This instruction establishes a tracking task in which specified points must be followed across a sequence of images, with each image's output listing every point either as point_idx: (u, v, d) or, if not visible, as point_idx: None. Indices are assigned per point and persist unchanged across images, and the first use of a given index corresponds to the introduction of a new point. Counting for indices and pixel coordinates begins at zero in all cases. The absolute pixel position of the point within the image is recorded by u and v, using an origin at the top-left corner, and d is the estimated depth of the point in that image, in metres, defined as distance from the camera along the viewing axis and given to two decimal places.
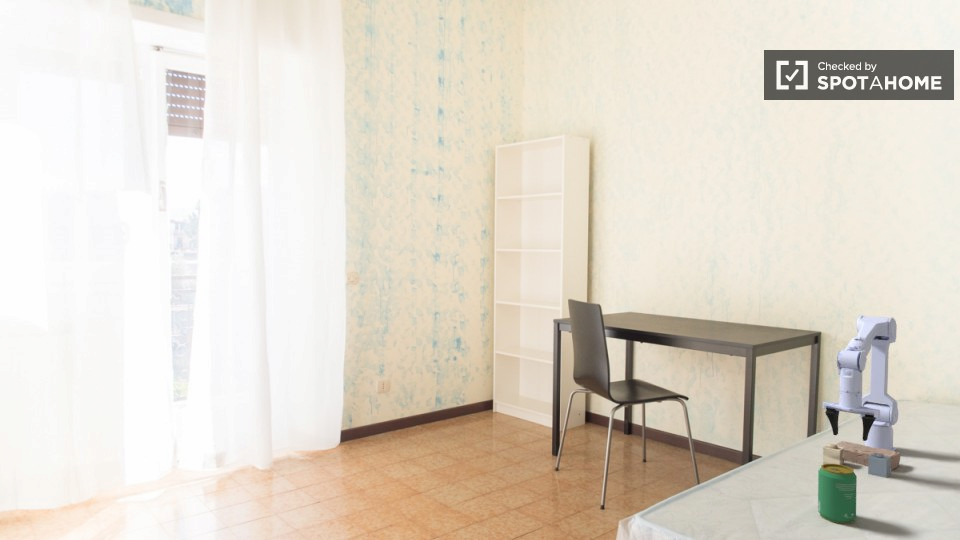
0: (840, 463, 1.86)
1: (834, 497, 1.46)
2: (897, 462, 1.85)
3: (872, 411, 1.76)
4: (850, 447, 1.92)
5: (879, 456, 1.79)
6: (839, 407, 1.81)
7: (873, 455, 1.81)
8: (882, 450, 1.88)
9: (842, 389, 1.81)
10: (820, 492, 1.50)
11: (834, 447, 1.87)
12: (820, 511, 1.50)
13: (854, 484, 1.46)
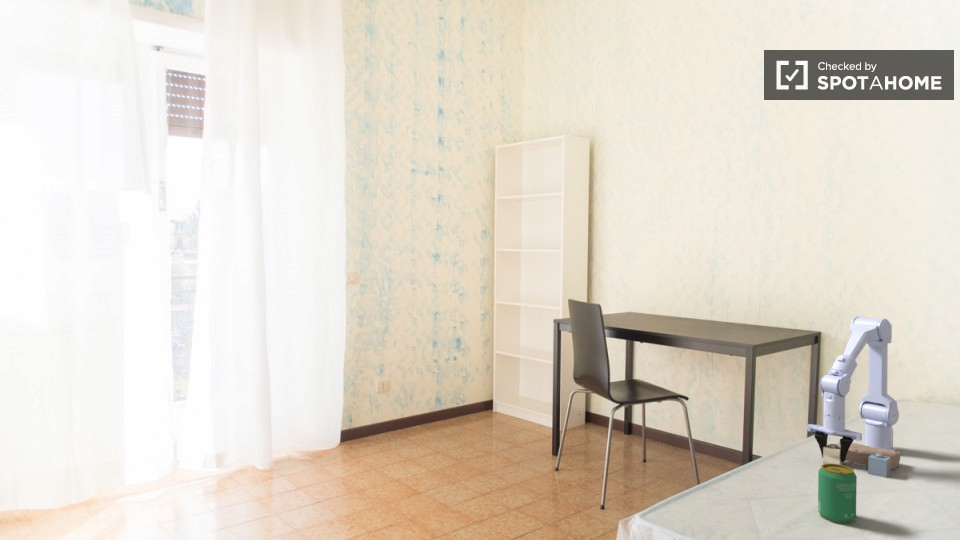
0: (840, 463, 1.86)
1: (834, 497, 1.46)
2: (897, 462, 1.85)
3: (854, 434, 1.83)
4: (850, 447, 1.92)
5: (879, 456, 1.79)
6: (823, 430, 1.88)
7: (873, 455, 1.81)
8: (882, 450, 1.88)
9: (824, 412, 1.88)
10: (820, 492, 1.50)
11: (834, 447, 1.87)
12: (820, 511, 1.50)
13: (854, 484, 1.46)
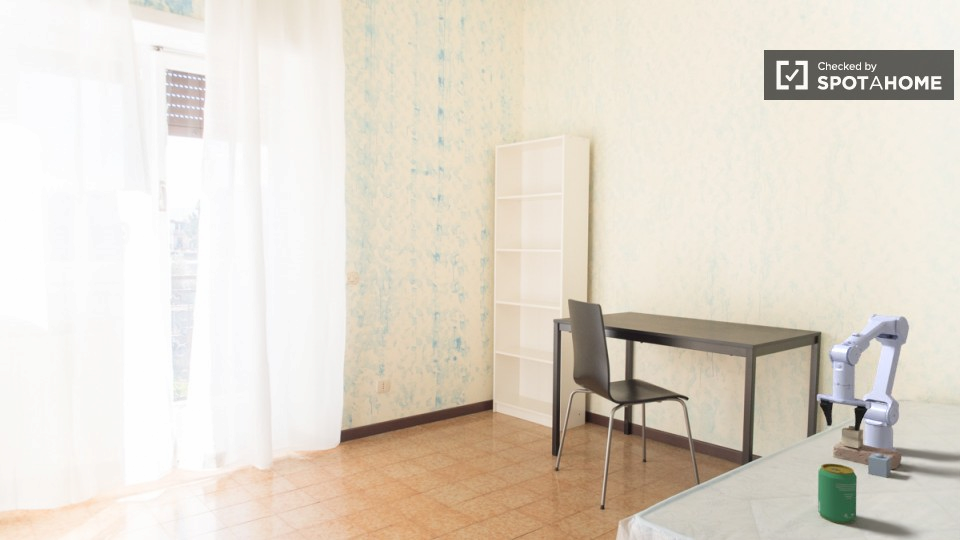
0: (858, 444, 1.90)
1: (834, 497, 1.46)
2: (899, 461, 1.85)
3: (864, 402, 1.86)
4: (852, 447, 1.92)
5: (879, 456, 1.79)
6: (832, 399, 1.91)
7: (873, 455, 1.81)
8: (883, 449, 1.89)
9: (834, 381, 1.91)
10: (820, 492, 1.50)
11: (853, 428, 1.92)
12: (820, 511, 1.50)
13: (854, 484, 1.46)
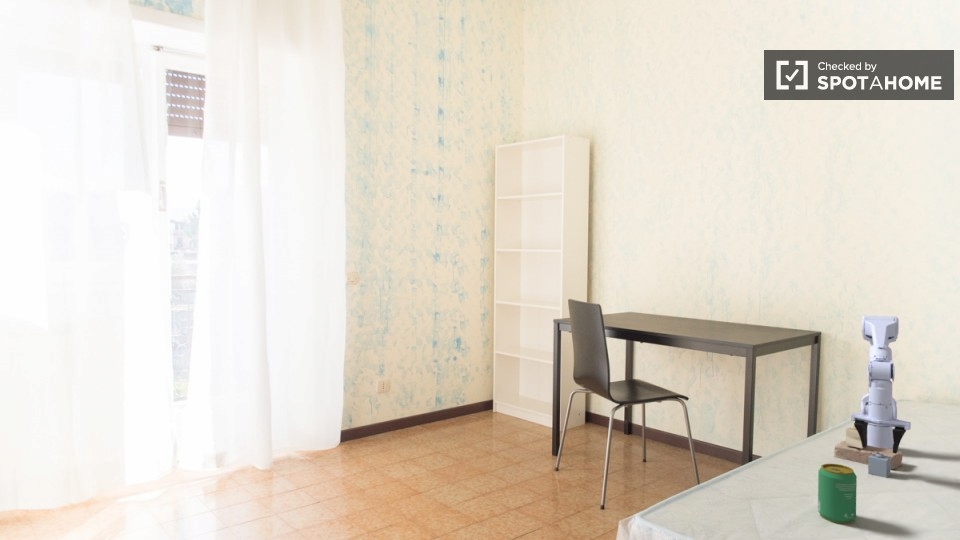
0: None
1: (834, 497, 1.46)
2: (899, 461, 1.86)
3: (903, 423, 1.74)
4: None
5: (879, 456, 1.79)
6: (868, 419, 1.79)
7: (873, 455, 1.81)
8: (884, 449, 1.89)
9: (874, 401, 1.78)
10: (820, 492, 1.50)
11: None
12: (820, 511, 1.50)
13: (854, 484, 1.46)
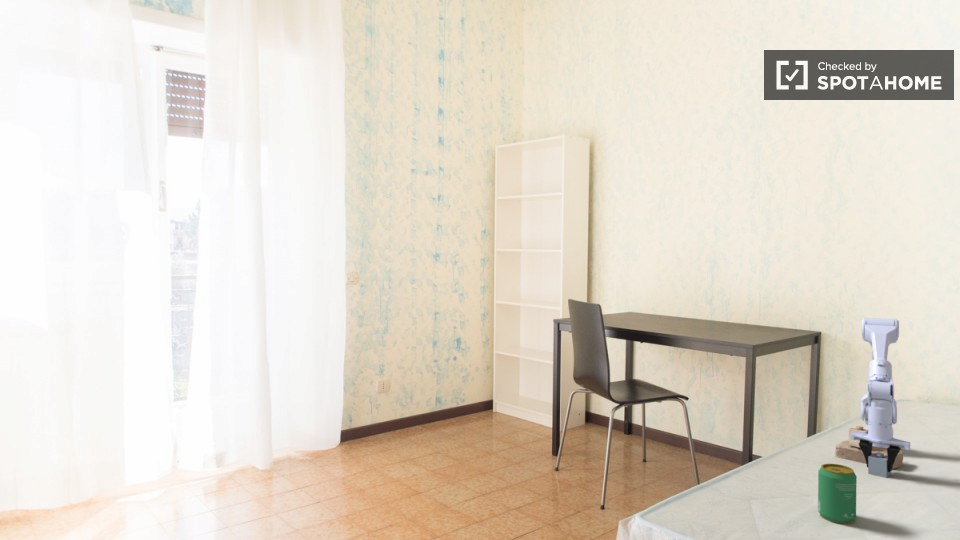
0: None
1: (834, 497, 1.46)
2: (901, 461, 1.86)
3: (902, 443, 1.74)
4: (854, 446, 1.93)
5: (879, 456, 1.79)
6: (868, 438, 1.79)
7: (873, 455, 1.81)
8: (885, 449, 1.89)
9: (874, 421, 1.78)
10: (820, 492, 1.50)
11: (860, 429, 1.92)
12: (820, 511, 1.50)
13: (854, 484, 1.46)
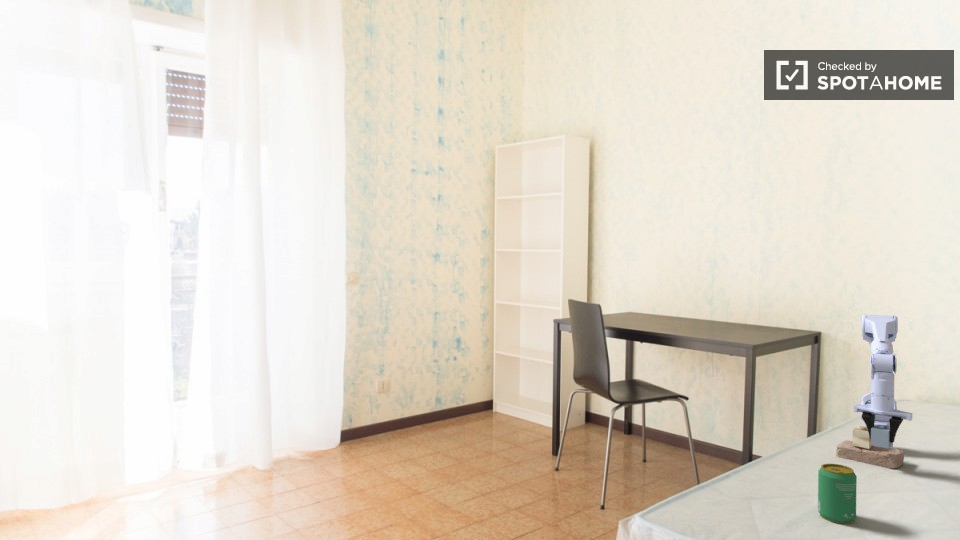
0: (869, 444, 1.90)
1: (834, 497, 1.46)
2: (902, 460, 1.86)
3: (904, 414, 1.78)
4: (855, 446, 1.93)
5: (881, 427, 1.82)
6: (871, 410, 1.83)
7: (876, 427, 1.84)
8: (886, 449, 1.90)
9: (877, 393, 1.81)
10: (820, 492, 1.50)
11: (863, 429, 1.91)
12: (820, 511, 1.50)
13: (854, 484, 1.46)
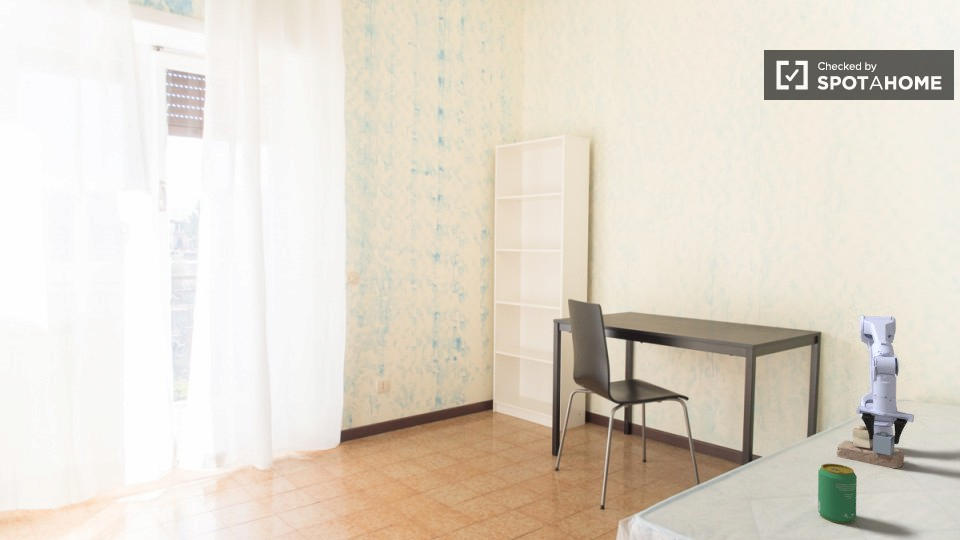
0: (870, 444, 1.90)
1: (834, 497, 1.46)
2: (902, 460, 1.87)
3: (906, 416, 1.81)
4: (855, 446, 1.93)
5: (883, 434, 1.86)
6: (873, 412, 1.86)
7: (878, 434, 1.88)
8: None
9: (879, 395, 1.84)
10: (820, 492, 1.50)
11: (863, 428, 1.92)
12: (820, 511, 1.50)
13: (854, 484, 1.46)
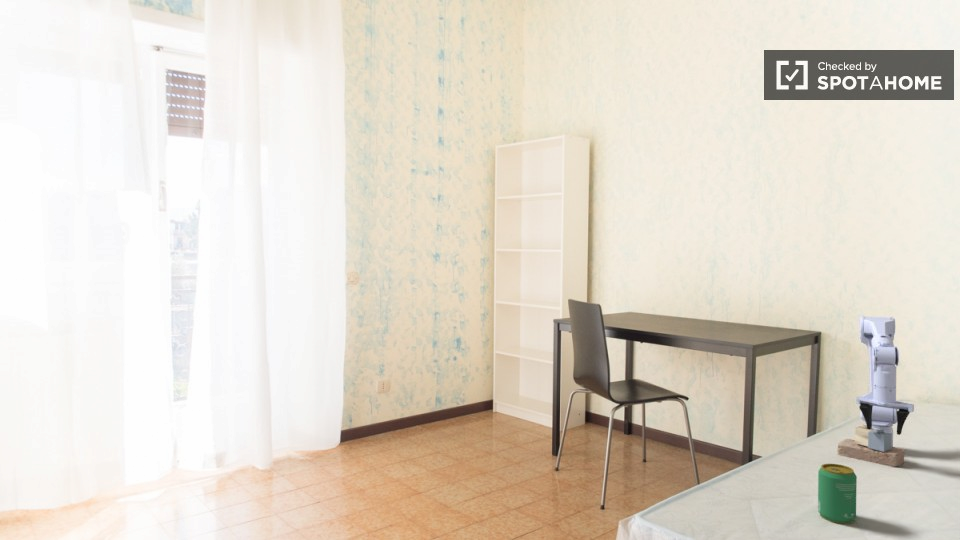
0: None
1: (834, 497, 1.46)
2: (902, 459, 1.88)
3: (906, 405, 1.81)
4: (856, 444, 1.95)
5: (879, 431, 1.89)
6: (873, 402, 1.86)
7: (875, 430, 1.91)
8: None
9: (879, 385, 1.84)
10: (820, 492, 1.50)
11: (866, 427, 1.93)
12: (820, 511, 1.50)
13: (854, 484, 1.46)
